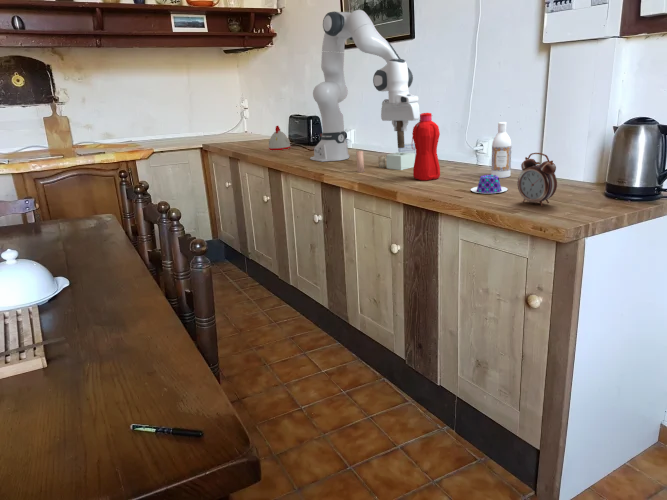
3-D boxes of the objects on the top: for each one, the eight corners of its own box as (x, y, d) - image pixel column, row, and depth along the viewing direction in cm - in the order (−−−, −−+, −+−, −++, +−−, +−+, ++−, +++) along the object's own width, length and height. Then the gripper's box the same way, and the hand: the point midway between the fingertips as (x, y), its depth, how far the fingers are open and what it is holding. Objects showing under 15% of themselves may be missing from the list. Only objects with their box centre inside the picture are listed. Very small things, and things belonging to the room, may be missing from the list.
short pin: (377, 167, 236) (376, 156, 234) (382, 166, 237) (381, 155, 236) (382, 168, 233) (381, 157, 232) (386, 167, 235) (386, 156, 233)
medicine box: (415, 161, 244) (415, 143, 241) (416, 163, 240) (415, 144, 237) (398, 162, 245) (398, 144, 242) (398, 164, 240) (398, 145, 238)
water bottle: (406, 179, 204) (404, 114, 196) (430, 175, 207) (429, 111, 200) (419, 182, 195) (417, 114, 188) (443, 178, 199) (443, 112, 192)
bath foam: (491, 178, 193) (492, 123, 187) (491, 174, 199) (492, 122, 193) (510, 178, 191) (512, 122, 185) (510, 174, 197) (512, 121, 191)
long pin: (396, 147, 228) (394, 115, 224) (401, 146, 230) (399, 114, 226) (401, 148, 226) (399, 115, 222) (405, 147, 228) (404, 114, 224)
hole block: (386, 168, 232) (386, 154, 230) (400, 165, 237) (400, 152, 235) (401, 169, 225) (400, 156, 223) (415, 166, 230) (414, 153, 228)
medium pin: (356, 172, 228) (354, 151, 225) (361, 171, 230) (360, 150, 227) (360, 172, 226) (359, 152, 223) (365, 171, 227) (364, 151, 225)
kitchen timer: (266, 151, 327) (263, 127, 322) (272, 148, 340) (269, 125, 335) (287, 150, 324) (285, 126, 320) (292, 147, 337) (290, 124, 333)
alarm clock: (515, 202, 156) (517, 152, 151) (525, 199, 158) (527, 150, 153) (547, 208, 147) (550, 155, 142) (557, 205, 149) (561, 152, 145)
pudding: (492, 197, 166) (492, 180, 164) (463, 192, 175) (463, 177, 174) (515, 190, 172) (515, 175, 171) (485, 186, 182) (486, 171, 180)
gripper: (376, 99, 228) (378, 131, 232) (411, 98, 212) (412, 132, 216) (387, 98, 231) (388, 130, 236) (421, 97, 216) (422, 130, 220)
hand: (400, 131), depth 226 cm, fingers closed on long pin, 3 cm apart
